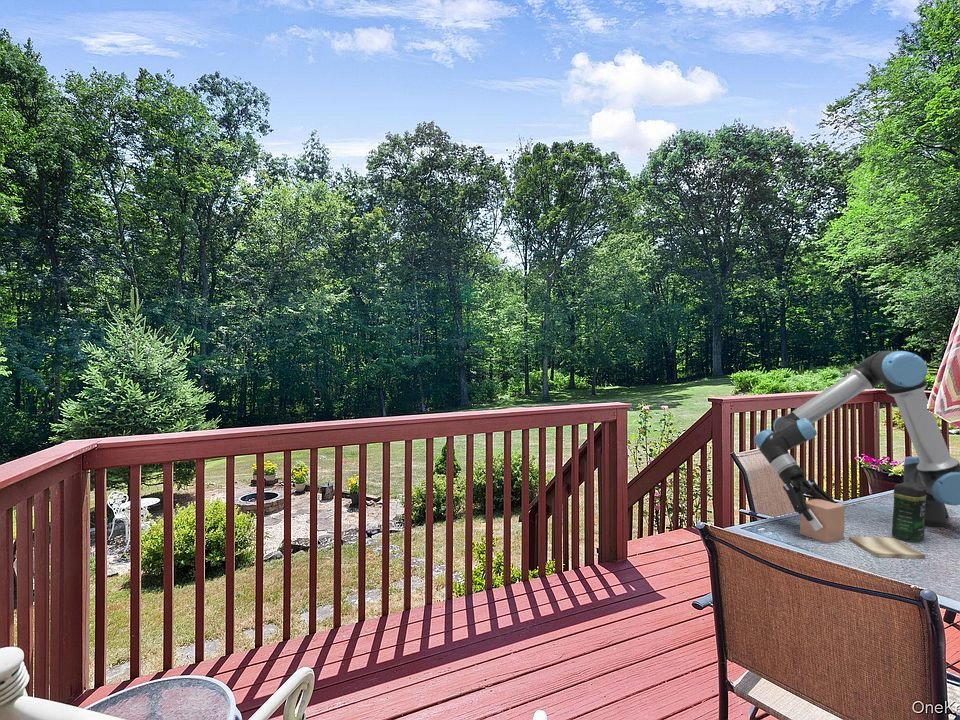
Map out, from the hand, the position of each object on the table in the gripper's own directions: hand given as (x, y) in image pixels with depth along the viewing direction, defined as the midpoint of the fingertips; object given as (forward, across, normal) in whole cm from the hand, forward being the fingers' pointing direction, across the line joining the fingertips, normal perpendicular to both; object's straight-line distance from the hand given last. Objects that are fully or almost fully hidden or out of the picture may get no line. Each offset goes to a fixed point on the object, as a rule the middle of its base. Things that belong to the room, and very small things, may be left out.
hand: (830, 526), depth 181 cm
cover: (+1, 0, -5) cm, 5 cm away
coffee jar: (+10, -25, +4) cm, 27 cm away
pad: (+12, -7, +6) cm, 15 cm away
